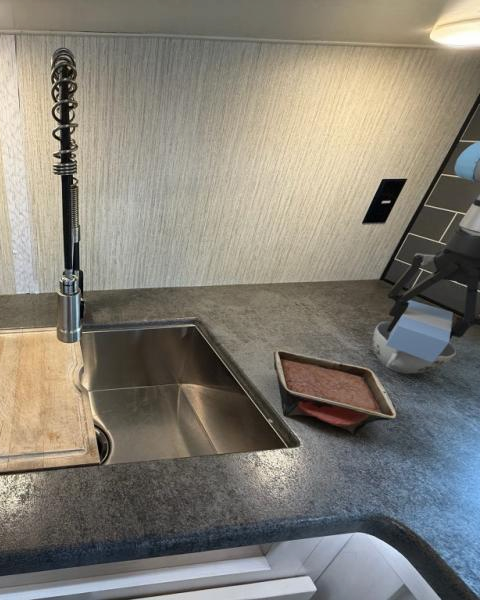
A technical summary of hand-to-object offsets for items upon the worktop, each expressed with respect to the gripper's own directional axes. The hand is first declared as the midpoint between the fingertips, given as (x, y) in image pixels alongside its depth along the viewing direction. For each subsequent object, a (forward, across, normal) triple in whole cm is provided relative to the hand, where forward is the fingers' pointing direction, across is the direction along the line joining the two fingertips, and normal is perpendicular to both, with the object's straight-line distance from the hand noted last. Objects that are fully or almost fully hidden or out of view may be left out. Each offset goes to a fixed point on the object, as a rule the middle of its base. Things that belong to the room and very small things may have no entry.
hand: (413, 337), depth 66 cm
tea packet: (0, 0, 0) cm, 0 cm away
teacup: (+9, 0, 0) cm, 9 cm away
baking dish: (+9, -9, -25) cm, 28 cm away
